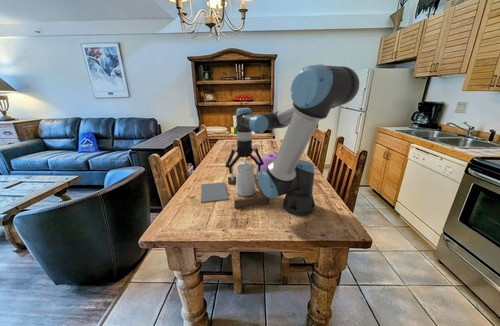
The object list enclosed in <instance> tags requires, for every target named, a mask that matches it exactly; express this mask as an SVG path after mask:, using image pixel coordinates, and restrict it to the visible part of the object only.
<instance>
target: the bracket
mask: <svg viewBox="0 0 500 326" xmlns="http://www.w3.org/2000/svg"><path fill="white" fill-rule="evenodd" d="M236 176H237V175H235V176H233V180H232V178H231V176H228V177H227V184H228V185H232V184H233V185H234V184H236ZM254 178H255V187H256V188H257V189H258V191H259V192H260V195H261V196H256V197H247V198H239V199H234V200H233V205H234V209H241V208H242V209H243V208H249V207H250V208H251V207H258V206H268V205H270V199H271V198H268V197H266V196H265V195H264V194H263V192H262V191H261V188H260V186H259V182H258V178H257V177H256V174H254Z"/></svg>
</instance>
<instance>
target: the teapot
mask: <svg viewBox="0 0 500 326" xmlns="http://www.w3.org/2000/svg"><path fill="white" fill-rule="evenodd" d="M277 154H278V153H276V152H274V153H272V152H269V153H268V154H267V153H266V154H264V155H263V156H262V157H261V159H262V161H263V163H264V164H263V165H261V166H260V171H259V174H260V173H261V172H262V171H266V170H267V169H268V166H269V164H270V162H272V161H274V160H275V159H276V156H277ZM252 156H253V157H254V158H255V159H256V160H257V161H258V162H259V163H260V160H259V159H258V157H257V155H252ZM254 163H255V166H256V165H257V164H256V162H255V161H254Z"/></svg>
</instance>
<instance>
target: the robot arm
mask: <svg viewBox="0 0 500 326" xmlns="http://www.w3.org/2000/svg"><path fill="white" fill-rule="evenodd" d="M359 89H360V78H359V75H358V74H357V72H356V71H355V70H354V69H352V68H350V67H348V66H343V65H342V66H339V65H324V64H322V63H321V64H312V65H307V66H304V67H303V68H301V69H300V70H299V71H298V72H297V73H296V75H295V76H294V78H293V80H292V83H291V87H290V92H291V94H290V97H291V100H292V103H291V104H288V105H287V106H285V107H283V108H281V109H280V110H278V111H276V112H271V113H270V112H267V113H256V114H255V113H253V112H252V109H251V108H250V107H239V108H237V109H236V112H235V113H236V114H235V115H236V116H235V117H236V118H235V119H236V139H237V140H236V149H234V148H231V149H230V154H229V156H228V159H227V161H226V163H225V168H227V169H228V173H229V174H230V177H231V178H232V180H233V177H234V167H233V166H235V164H236V163H237V162H238V161H239V160H240V159H241V158H242V159H243V158H248V157H249V158H250V159H252V160H253V162H254V163H255V162H256V163H255V175H256V177H257V178H258V182H259V186H260V188H261V191H262V192H263V194H264V195H265V196H266V197H268V198H270V199H274V198H279V197H281V196H284V197H283V200H282V208H283V210H284V212H287V213H289V214H291V215H294V216H308V215H312V214H313V213H314V212H315V210H316V202H315V199H314V195H313V191H314V180H315V165H314V164H313V163H312V162H310V161H308V160H303V159H301V158H302V156H303V154H304V152H305V150H306V148H307V146H308V144H309V142H310V140H311V138H312V136H313V135H314V132H315V130H316V128H317V126H318V125H319V122H320V121H321V120H325V119H326V118H327V117H328V115H329V113H330V112H331V110H332V109H335V108H337V107H339V106H343V105H346V104H348V103H350V102H351V101H352V100H354V99H355V97H356V96H357V94H358V93H359ZM283 128H287V130H286V131H285V134H284V137H283V139H282V142H281V144H280V146H279V149H278V152H277V153H276V154H277V156H276V159H275V160H274V161H272V162H270V164H269V166H268V169H267V170H266V171H262V172H261V173H259V171H260V166H261V165H263V164H264V163H263V161H262V157H261V155H260V153H259V148H257V147H254V148H252V147H253V141H252V139H253V135H252V134H253V133H252V132H254V133H264V132H265V131H267V130H275V129H283ZM236 153H237V154H236ZM252 153H255V156H257V158H258V159H259V161H260V163H259V162H258V161H257V160H256V159H255V158H254V157H253V156H254V155H253V154H252ZM235 154H236V156H235V157H234V155H235ZM233 157H234V159H233ZM232 159H233V160H232ZM256 164H257V165H256Z"/></svg>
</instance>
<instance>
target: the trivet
mask: <svg viewBox="0 0 500 326" xmlns="http://www.w3.org/2000/svg"><path fill="white" fill-rule="evenodd" d="M228 195H229V193H228V191H227V187H226V182H223V181H222V182H212V183H210V182H209V183H201V185H200V203H201V204H202V203H204V204H205V203H211V202H221V201H229V196H228Z"/></svg>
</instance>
